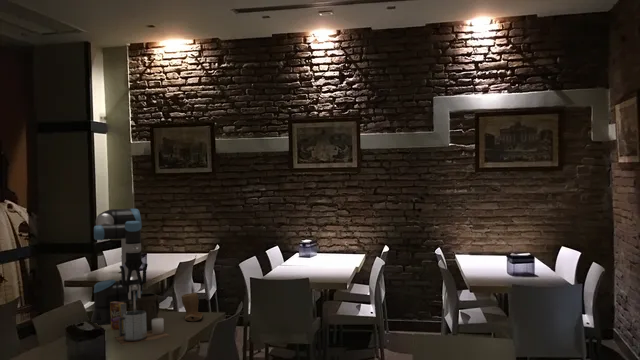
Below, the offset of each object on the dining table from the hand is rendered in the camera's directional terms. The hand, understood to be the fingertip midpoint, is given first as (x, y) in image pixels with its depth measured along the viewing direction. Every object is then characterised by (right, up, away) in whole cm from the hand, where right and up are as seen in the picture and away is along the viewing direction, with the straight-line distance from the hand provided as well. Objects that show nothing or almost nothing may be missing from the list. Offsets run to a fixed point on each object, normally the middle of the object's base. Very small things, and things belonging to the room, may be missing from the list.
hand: (134, 298), depth 280 cm
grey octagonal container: (0, -20, 0) cm, 20 cm away
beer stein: (+1, -22, +22) cm, 31 cm away
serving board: (+3, -22, +3) cm, 22 cm away
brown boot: (+19, -22, +44) cm, 52 cm away
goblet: (0, -14, 0) cm, 14 cm away
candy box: (-16, -22, +22) cm, 35 cm away
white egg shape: (+9, -20, +10) cm, 24 cm away
